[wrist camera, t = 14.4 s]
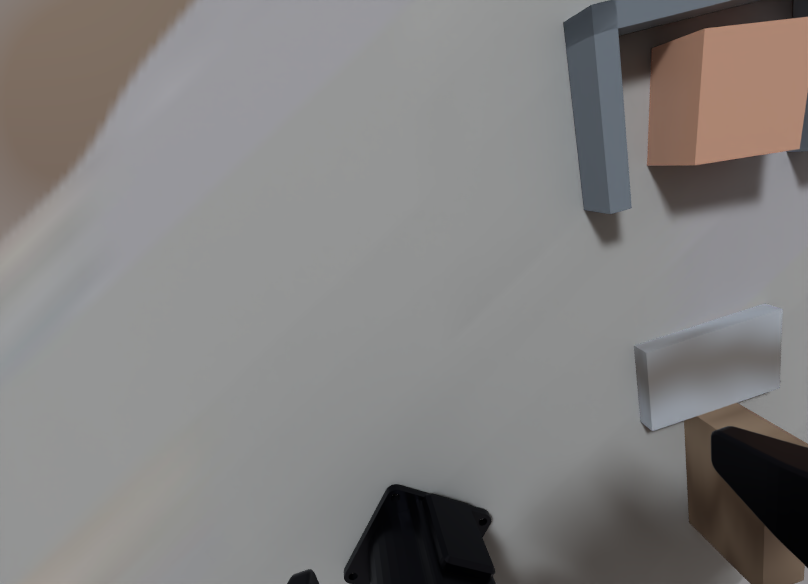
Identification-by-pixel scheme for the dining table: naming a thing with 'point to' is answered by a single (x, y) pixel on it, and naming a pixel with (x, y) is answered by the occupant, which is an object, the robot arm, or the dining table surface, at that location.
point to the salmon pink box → (728, 93)
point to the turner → (720, 425)
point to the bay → (619, 87)
